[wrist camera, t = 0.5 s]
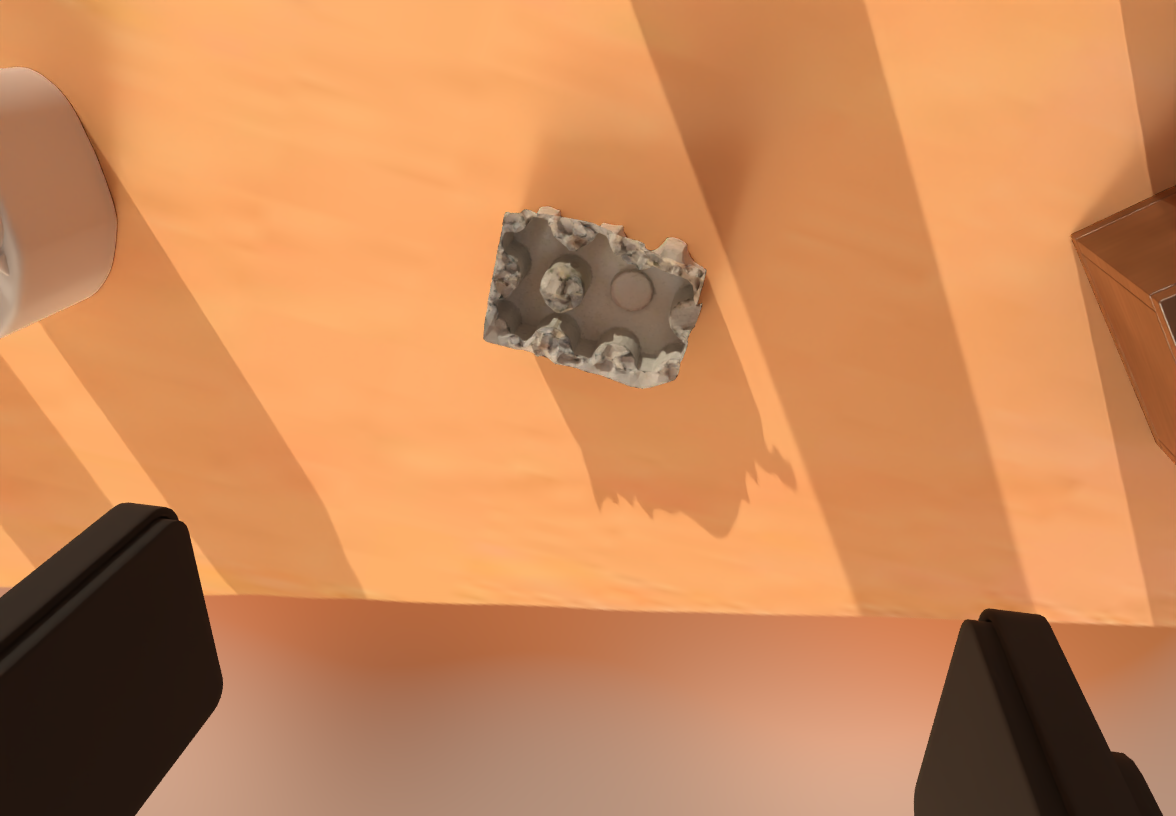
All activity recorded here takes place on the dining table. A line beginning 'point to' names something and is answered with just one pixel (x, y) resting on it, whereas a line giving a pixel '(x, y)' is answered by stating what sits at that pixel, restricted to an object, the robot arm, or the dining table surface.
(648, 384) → the egg carton
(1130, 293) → the cabinet
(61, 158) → the lumpy-topped squat cylinder
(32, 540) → the dining table surface
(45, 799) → the robot arm
